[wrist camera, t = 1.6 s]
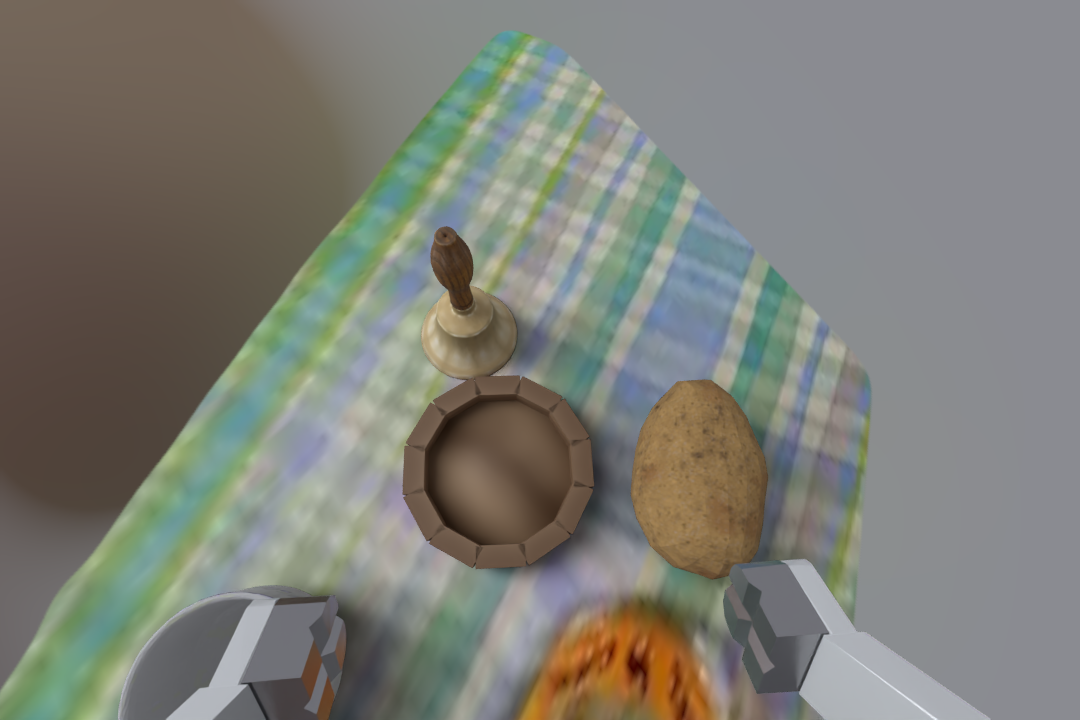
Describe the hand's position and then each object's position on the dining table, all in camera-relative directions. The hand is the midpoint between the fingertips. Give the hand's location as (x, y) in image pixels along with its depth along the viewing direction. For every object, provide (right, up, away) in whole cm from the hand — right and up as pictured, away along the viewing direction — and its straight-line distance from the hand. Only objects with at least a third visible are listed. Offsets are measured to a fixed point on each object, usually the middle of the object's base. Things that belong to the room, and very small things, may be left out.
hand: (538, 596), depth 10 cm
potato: (+11, -5, +31) cm, 33 cm away
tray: (-3, -4, +30) cm, 30 cm away
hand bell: (-6, +7, +34) cm, 35 cm away
